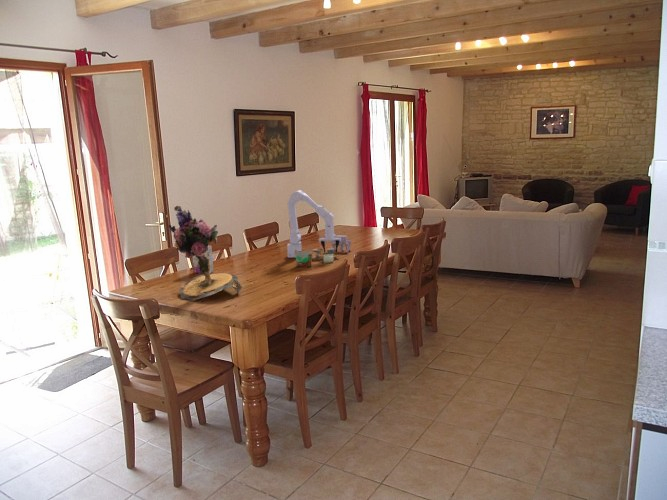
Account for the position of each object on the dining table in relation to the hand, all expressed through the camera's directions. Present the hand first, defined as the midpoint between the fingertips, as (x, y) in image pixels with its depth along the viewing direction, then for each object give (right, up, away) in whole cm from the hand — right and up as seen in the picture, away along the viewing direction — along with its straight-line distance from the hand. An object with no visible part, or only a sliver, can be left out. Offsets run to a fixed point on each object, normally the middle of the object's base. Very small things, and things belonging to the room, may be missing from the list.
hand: (330, 252), depth 355 cm
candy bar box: (-76, -13, -32) cm, 84 cm away
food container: (-17, -9, -25) cm, 32 cm away
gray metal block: (0, -3, +1) cm, 3 cm away
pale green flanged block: (-1, -6, -13) cm, 14 cm away
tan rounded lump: (-8, -4, -5) cm, 10 cm away
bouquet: (-62, -21, -76) cm, 101 cm away
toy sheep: (+4, 0, +17) cm, 18 cm away
